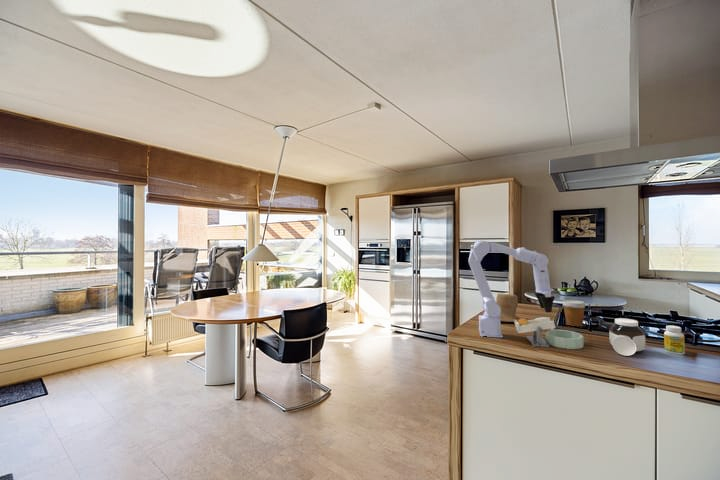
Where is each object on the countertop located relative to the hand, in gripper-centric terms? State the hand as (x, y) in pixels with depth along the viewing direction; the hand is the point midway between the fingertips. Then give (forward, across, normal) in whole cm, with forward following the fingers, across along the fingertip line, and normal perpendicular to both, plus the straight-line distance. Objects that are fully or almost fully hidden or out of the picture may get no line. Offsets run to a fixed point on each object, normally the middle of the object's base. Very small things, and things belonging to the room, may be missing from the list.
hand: (546, 310), depth 138 cm
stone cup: (+11, +24, +15) cm, 30 cm away
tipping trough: (+5, -5, +7) cm, 10 cm away
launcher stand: (+11, -9, +7) cm, 16 cm away
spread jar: (+14, -15, -22) cm, 30 cm away
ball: (+3, -9, +12) cm, 15 cm away
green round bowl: (+12, -9, -3) cm, 15 cm away
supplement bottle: (+16, -12, -38) cm, 43 cm away
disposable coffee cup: (+14, +20, -16) cm, 29 cm away
